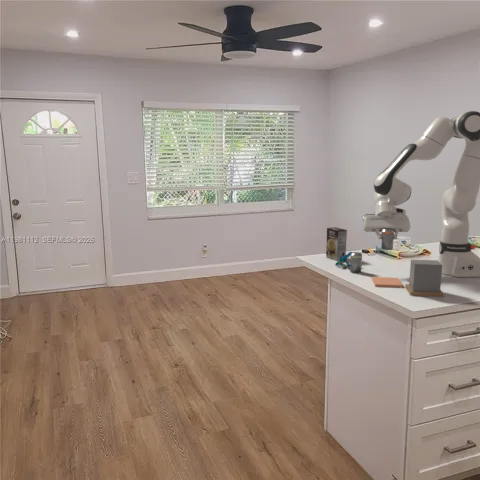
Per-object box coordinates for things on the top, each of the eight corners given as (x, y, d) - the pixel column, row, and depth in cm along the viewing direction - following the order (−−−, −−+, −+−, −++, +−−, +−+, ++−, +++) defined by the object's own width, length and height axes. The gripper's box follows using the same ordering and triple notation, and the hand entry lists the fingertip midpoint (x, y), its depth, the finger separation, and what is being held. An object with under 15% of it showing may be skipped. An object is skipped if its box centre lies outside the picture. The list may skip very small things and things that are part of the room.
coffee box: (325, 257, 230) (326, 227, 226) (334, 255, 232) (335, 226, 229) (336, 260, 222) (337, 230, 218) (346, 259, 224) (347, 229, 221)
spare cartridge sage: (361, 270, 202) (361, 252, 201) (361, 273, 197) (362, 254, 196) (349, 270, 204) (350, 251, 202) (350, 273, 199) (350, 254, 197)
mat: (397, 280, 187) (397, 277, 187) (402, 287, 176) (402, 285, 176) (371, 279, 189) (371, 276, 189) (375, 286, 178) (375, 284, 178)
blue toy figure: (342, 259, 218) (353, 248, 211) (349, 268, 216) (361, 257, 209) (329, 266, 211) (341, 255, 204) (337, 275, 209) (349, 264, 202)
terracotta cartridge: (392, 247, 196) (392, 228, 194) (394, 250, 191) (395, 230, 189) (380, 247, 197) (381, 228, 195) (381, 249, 192) (382, 230, 190)
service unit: (436, 288, 174) (438, 259, 172) (443, 296, 164) (445, 265, 162) (405, 287, 176) (407, 258, 174) (410, 295, 167) (412, 264, 164)
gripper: (363, 210, 199) (364, 234, 192) (409, 209, 196) (412, 234, 188) (361, 218, 204) (363, 242, 197) (406, 218, 201) (409, 242, 193)
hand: (387, 238), depth 192 cm, fingers closed on terracotta cartridge, 5 cm apart
